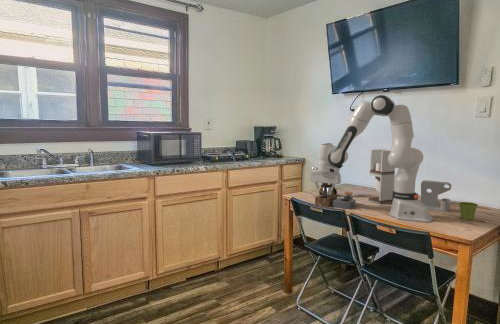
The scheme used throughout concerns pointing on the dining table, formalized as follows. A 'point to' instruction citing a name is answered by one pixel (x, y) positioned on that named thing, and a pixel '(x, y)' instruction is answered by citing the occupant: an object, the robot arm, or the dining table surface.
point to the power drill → (329, 186)
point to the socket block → (344, 202)
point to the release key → (348, 194)
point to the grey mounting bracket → (435, 195)
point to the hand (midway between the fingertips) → (324, 189)
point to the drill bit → (324, 192)
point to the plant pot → (467, 210)
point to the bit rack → (325, 200)
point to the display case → (382, 176)
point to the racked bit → (328, 191)
